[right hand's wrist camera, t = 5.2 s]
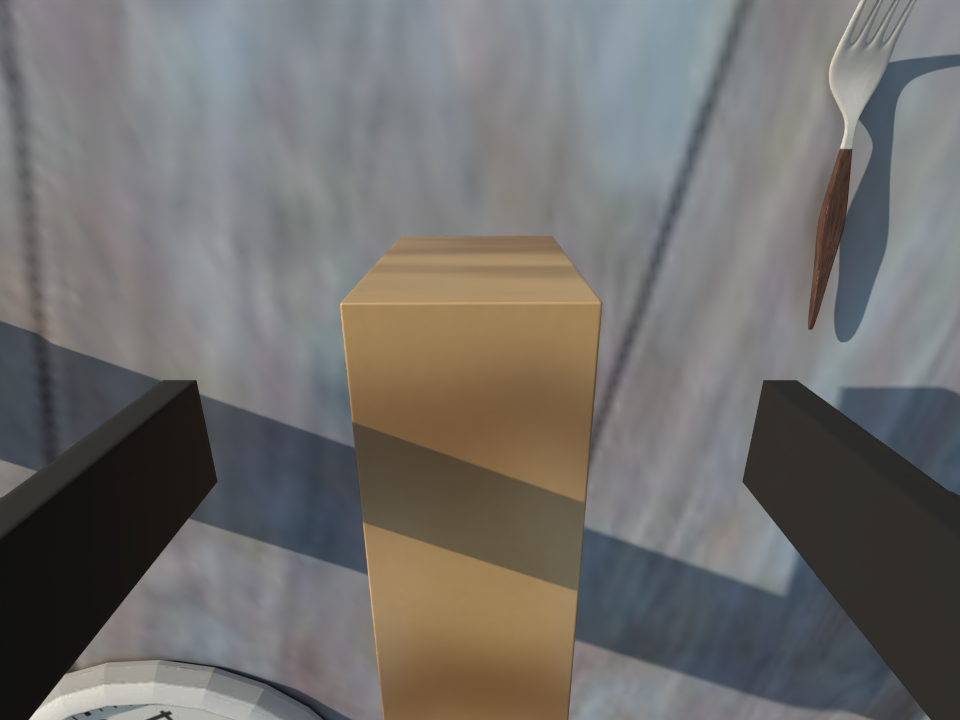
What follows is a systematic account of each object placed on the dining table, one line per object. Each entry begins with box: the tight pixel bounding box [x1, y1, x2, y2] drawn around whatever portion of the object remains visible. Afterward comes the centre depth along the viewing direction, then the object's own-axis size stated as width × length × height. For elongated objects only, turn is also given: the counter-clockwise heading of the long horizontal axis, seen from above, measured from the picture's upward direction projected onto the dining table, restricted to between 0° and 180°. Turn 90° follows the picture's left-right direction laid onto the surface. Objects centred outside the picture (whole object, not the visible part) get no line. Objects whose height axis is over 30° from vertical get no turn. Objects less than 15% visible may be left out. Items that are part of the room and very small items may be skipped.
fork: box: [808, 0, 916, 330], centre depth 26 cm, size 3×16×2 cm, turn 2°
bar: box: [340, 236, 602, 720], centre depth 21 cm, size 24×6×9 cm, turn 0°
